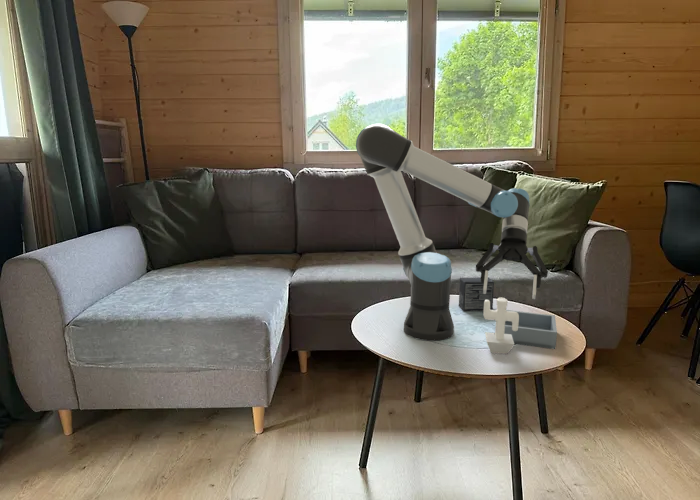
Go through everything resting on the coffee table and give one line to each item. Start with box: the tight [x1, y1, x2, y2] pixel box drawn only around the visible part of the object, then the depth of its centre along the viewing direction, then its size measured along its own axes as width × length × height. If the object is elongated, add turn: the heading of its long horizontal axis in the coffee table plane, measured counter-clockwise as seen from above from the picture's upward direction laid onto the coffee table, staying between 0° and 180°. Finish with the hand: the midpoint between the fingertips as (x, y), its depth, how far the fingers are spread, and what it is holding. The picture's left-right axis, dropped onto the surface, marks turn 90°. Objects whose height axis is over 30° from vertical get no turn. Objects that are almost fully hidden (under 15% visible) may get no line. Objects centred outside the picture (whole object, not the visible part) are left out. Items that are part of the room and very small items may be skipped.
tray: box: [504, 309, 558, 350], centre depth 150 cm, size 16×15×5 cm
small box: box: [458, 277, 495, 312], centre depth 174 cm, size 11×6×10 cm, turn 94°
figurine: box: [482, 297, 519, 355], centre depth 138 cm, size 7×9×15 cm
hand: (508, 294), depth 144 cm, fingers open, 13 cm apart
